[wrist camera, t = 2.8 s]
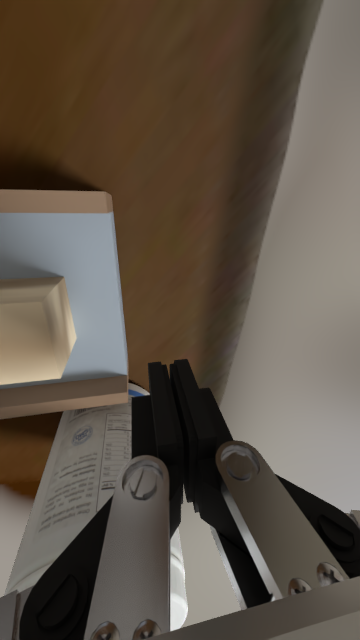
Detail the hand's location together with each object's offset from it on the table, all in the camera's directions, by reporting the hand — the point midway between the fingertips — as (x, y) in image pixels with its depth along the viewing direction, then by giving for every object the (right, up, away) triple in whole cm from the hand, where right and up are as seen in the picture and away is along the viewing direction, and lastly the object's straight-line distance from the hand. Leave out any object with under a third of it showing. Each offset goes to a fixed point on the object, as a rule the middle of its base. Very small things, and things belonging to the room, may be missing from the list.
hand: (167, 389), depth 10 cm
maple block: (-9, +4, +5) cm, 11 cm away
